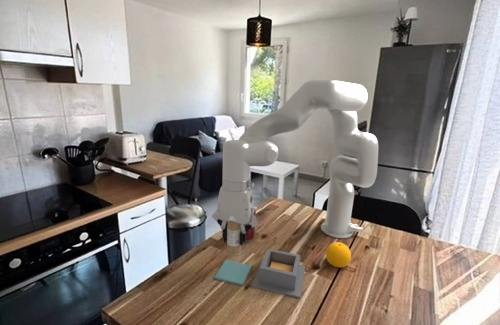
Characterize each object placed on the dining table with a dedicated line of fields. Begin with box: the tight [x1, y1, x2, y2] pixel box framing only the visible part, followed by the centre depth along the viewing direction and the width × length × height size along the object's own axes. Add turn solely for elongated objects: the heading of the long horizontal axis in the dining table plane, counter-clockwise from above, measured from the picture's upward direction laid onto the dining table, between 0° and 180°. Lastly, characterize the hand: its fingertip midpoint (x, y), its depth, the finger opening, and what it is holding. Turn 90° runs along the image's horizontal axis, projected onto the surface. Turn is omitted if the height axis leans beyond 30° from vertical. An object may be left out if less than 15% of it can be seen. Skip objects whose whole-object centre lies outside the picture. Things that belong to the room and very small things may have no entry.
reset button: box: [270, 262, 293, 272], centre depth 81 cm, size 7×7×2 cm
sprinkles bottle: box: [226, 216, 242, 257], centre depth 79 cm, size 5×5×14 cm
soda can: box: [246, 207, 257, 242], centre depth 102 cm, size 7×7×12 cm
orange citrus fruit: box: [325, 241, 352, 268], centre depth 88 cm, size 8×8×8 cm
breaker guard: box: [251, 248, 306, 299], centre depth 81 cm, size 14×14×6 cm
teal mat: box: [214, 259, 253, 286], centre depth 83 cm, size 9×9×1 cm
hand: (234, 240), depth 80 cm, fingers closed on sprinkles bottle, 4 cm apart
